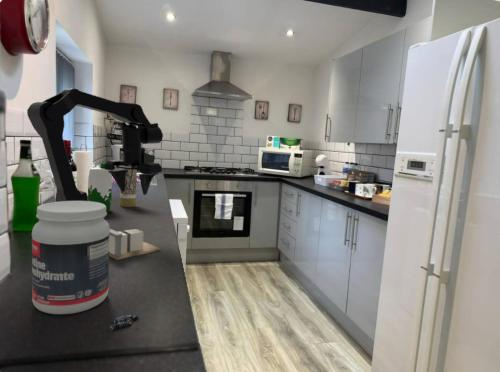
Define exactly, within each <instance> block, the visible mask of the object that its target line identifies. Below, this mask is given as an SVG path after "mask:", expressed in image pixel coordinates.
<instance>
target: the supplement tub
mask: <svg viewBox="0 0 500 372" xmlns="http://www.w3.org/2000/svg"><path fill="white" fill-rule="evenodd" d="M107 215H108V212H106V206H105V205H104V204H102V203H98V202H92V201H60V202H56V201H54V202H53V201H52V202H47V203H42V204H40V205H38V206H37V207H36V215H35V216H36V218H37V219H38V222H36V223H35V224H34V226H33V227H32V230H31V231H32V232H31V253H32V254H31V278H32V279H31V283H32V284H31V290H32V293H31V294H32V297H31V301H32V304H33V306H34V307H35V308H36V309H37V310H38V311H40V312H43V313H46V314H52V315H71V314H72V315H73V314H76V313H82V312H84V311H88V310H89V309H92V308H94V307H96V306H98V305H100V304H101V303H103V302H104V300H106V298H107V297H108V296H107V295H108V294H109V268H110V263H109V261H110V256H109V235H110V229H111V228H110V224H109V223H108V221H107V220H105V217H107Z"/></svg>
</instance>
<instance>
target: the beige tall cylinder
mask: <svg viewBox="0 0 500 372" xmlns="http://www.w3.org/2000/svg"><path fill="white" fill-rule="evenodd" d="M120 160H123V151H120ZM129 166H131V165H129ZM127 170H128V171H127V172H126V174H125V191H124V192H122V191H121V190H120V191H119V194H120V198H119V205H120V207H122V208H134V207H135V206H136V205H137V177H138V175H137V171H138V170H133V169H127Z"/></svg>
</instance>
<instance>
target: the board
mask: <svg viewBox="0 0 500 372" xmlns="http://www.w3.org/2000/svg"><path fill="white" fill-rule="evenodd" d="M158 251H159V252H160V251H161V247H157V246H155V245H153V244H150V243H148V242H145V241H143V249H142V250H137V251H132V252H128V251H127V253H123V254H121V256H118V257H117V256H116V255H113V254H111V253H109V258H110V257H111V258H113V259H114V260H116V261H117V260H123V259H127V258H131V257H137V256H141V255H146V254H150V253H155V252H158Z"/></svg>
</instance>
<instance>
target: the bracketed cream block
mask: <svg viewBox="0 0 500 372" xmlns="http://www.w3.org/2000/svg"><path fill="white" fill-rule="evenodd" d="M109 253H111V254H113V255H116V256H117V257H118V256H121V254H123V253H127V234H125V233H122V231H117V230H114V229H112V228H110V235H109Z"/></svg>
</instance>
